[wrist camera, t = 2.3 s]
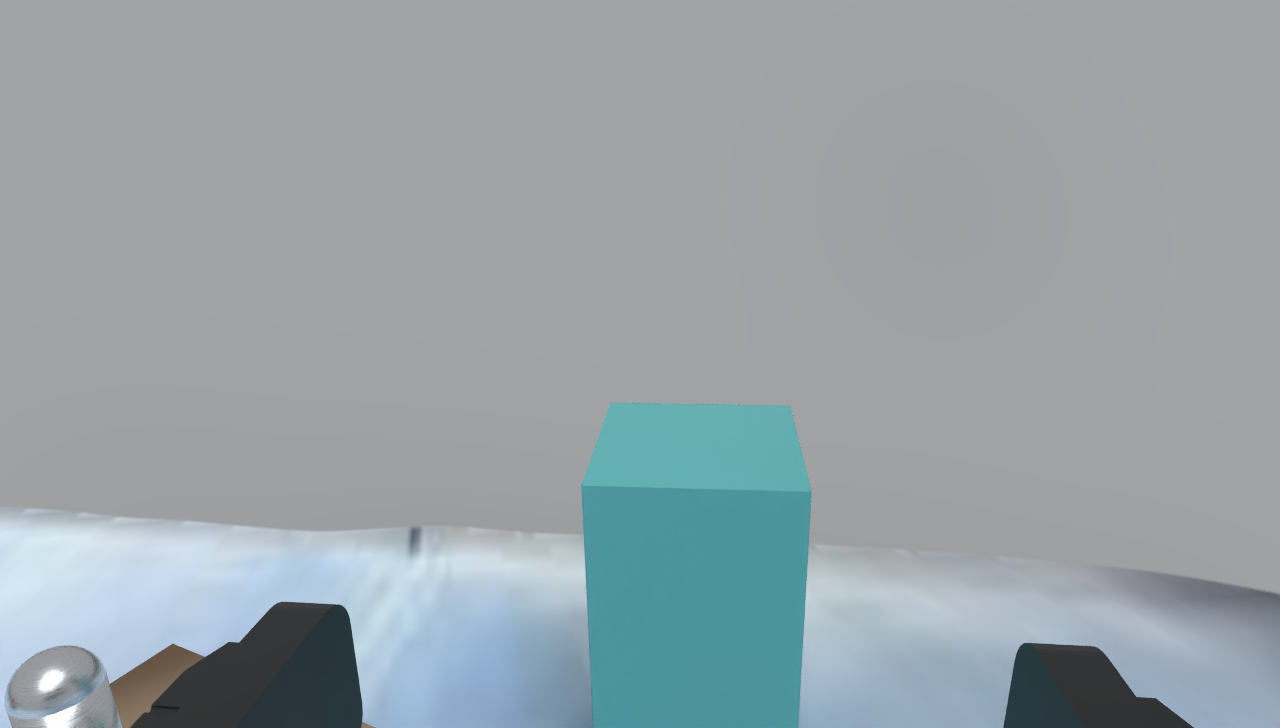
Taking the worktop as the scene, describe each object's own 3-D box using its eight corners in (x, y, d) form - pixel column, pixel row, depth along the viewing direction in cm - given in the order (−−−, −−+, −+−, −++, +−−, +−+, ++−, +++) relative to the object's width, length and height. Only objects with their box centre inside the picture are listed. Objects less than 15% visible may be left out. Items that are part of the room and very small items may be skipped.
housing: (776, 703, 26) (790, 405, 23) (791, 845, 21) (811, 491, 18) (620, 694, 27) (610, 402, 23) (598, 832, 22) (581, 485, 18)
